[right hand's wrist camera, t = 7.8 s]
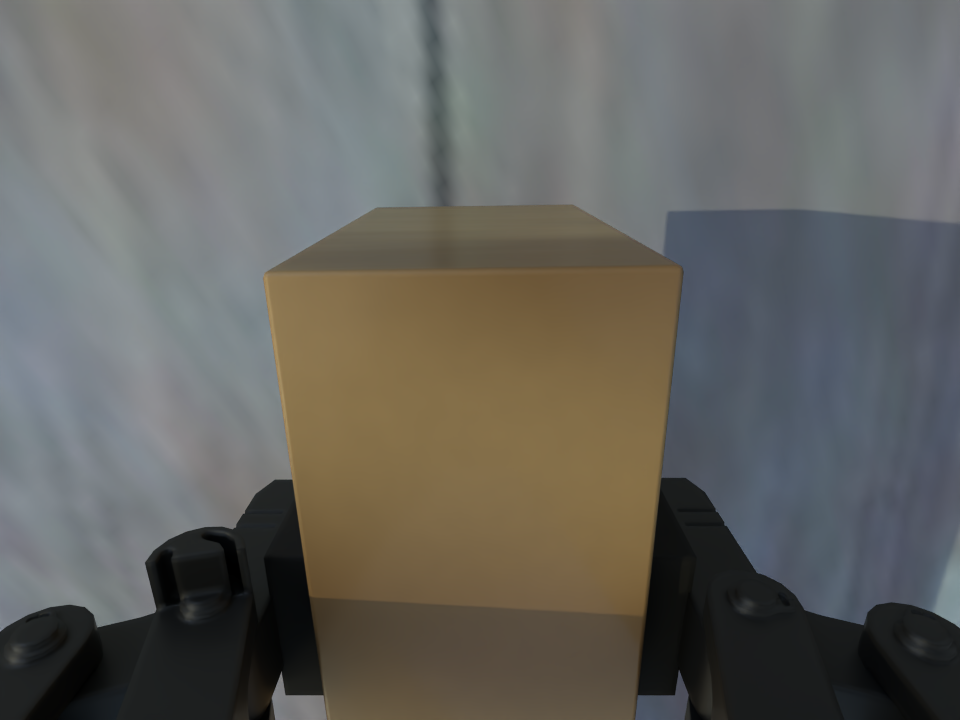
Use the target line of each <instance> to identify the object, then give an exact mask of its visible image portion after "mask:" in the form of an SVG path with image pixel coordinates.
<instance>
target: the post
mask: <svg viewBox="0 0 960 720" xmlns="http://www.w3.org/2000/svg"><path fill="white" fill-rule="evenodd" d="M263 280H264V287H265V293H266V300H267V307H268V314H269V321H270V328H271V335H272V342H273V349H274V356H275V362H276V369H277V376H278V383H279V390H280V397H281V404H282V411H283V418H284V425H285V432H286V438H287V445H288V452H289V459H290V466H291V473H292V480H293V487H294V494H295V501H296V508H297V514H298V521H299V528H300V535H301V542H302V549H303V556H304V563H305V570H306V577H307V583H308V590H309V597H310V604H311V611H312V618H313V625H314V632H315V639H316V646H317V653H318V659H319V666H320V673H321V680H322V687H323V694H324V701H325V708H326V715H327V720H635V716H636V706H637V697H638V688H639V679H640V669H641V660H642V651H643V642H644V632H645V623H646V614H647V605H648V596H649V586H650V577H651V568H652V559H653V549H654V540H655V531H656V522H657V512H658V503H659V494H660V485H661V475H662V466H663V457H664V448H665V438H666V429H667V420H668V411H669V401H670V392H671V383H672V374H673V365H674V355H675V346H676V337H677V328H678V318H679V309H680V300H681V291H682V281H683V269H682V266H680V265H678V264H676V263H675V262H673V261H671V260H669V259H668V258H666V257H664V256H662V255H661V254H659V253H657V252H655V251H654V250H652V249H650V248H648V247H646V246H645V245H643V244H641V243H639V242H638V241H636V240H634V239H632V238H631V237H629V236H627V235H625V234H624V233H622V232H620V231H618V230H617V229H615V228H613V227H611V226H610V225H608V224H606V223H604V222H602V221H601V220H599V219H597V218H595V217H594V216H592V215H590V214H588V213H587V212H585V211H583V210H581V209H580V208H578V207H576V206H574V205H520V206H453V207H386V208H375V209H373V210H372V211H370V212H368V213H367V214H365V215H363V216H361V217H360V218H358V219H356V220H355V221H353V222H351V223H349V224H348V225H346V226H344V227H343V228H341V229H339V230H337V231H336V232H334V233H332V234H331V235H329V236H327V237H325V238H324V239H322V240H320V241H319V242H317V243H315V244H313V245H312V246H310V247H308V248H307V249H305V250H303V251H301V252H300V253H298V254H296V255H295V256H293V257H291V258H289V259H288V260H286V261H284V262H283V263H281V264H279V265H277V266H276V267H274V268H272V269H271V270H269V271H267V272H265V274H264V278H263Z"/></svg>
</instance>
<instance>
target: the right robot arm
mask: <svg viewBox="0 0 960 720" xmlns="http://www.w3.org/2000/svg"><path fill="white" fill-rule="evenodd" d="M145 565H146V569H147V573H148V577H149V581H150V585H151V589H152V593H153V597H154V601H155V605H156V612H155V613H153V614H150V615H147V616H144V617H140V618H136V619H132V620H128V621H123V622H119V623H115V624H111V625H106V626H102V627H98V628H97V625H96V622H95V618H94V615H93V614H92V613H91V612H90V611H88V610H87V609H86V608H85V607H80V606H74V605H64V606H57V607H50V608H47V609H44V610H41V611H38V612H35V613H32V614H29V615H27V616H25V617H23V618H22V619H20V620H18V621H16V622H14V623H12V624H11V625H9V626H7V627H6V628H4V629H3V630H2V631H1V632H0V720H275V716H274V709H273V703H272V695H273V693H274V690H275V687H276V685H277V682H278V679H279V677H280V674H281V671H282V676H283V682H284V688H285V694H286V695H324V694H323V687H322V680H321V673H320V666H319V659H318V653H317V646H316V639H315V632H314V625H313V618H312V611H311V604H310V597H309V590H308V583H307V577H306V570H305V563H304V556H303V549H302V542H301V535H300V528H299V521H298V514H297V508H296V501H295V494H294V487H293V480H274V481H273V482H271V483H270V484H269V485H267V486H266V487H265V488H263V489H262V490H261V491H259V492H258V493H257V494H256V495H255V496H254V498H253V499H252V501H251V502H250V504H249V506H248V507H247V509H246V510H245V514H243V515H242V516H241V518H240V520H239V521H238V523H237V524H236V528H234V529H229V528H225V527H204V528H200V529H196V530H192V531H187V532H185V533H183V534H180V535H178V536H176V537H174V538H171V539H169V540H168V541H166V542H165V543H164V544H162V545H161V546H160V547H158V548H157V549H155V550H154V551H153V553H152V554H151V555H150V557H149V558H148V559H147V561H146V562H145ZM679 670H680V673H681V676H682V678H683V681H684V683H685V686H686V689H687V691H688V694H689V697H688V703H687V708H686V714H685V720H960V628H959V627H957V626H956V625H955V624H953V623H951V622H950V621H948V620H946V619H944V618H942V617H940V616H938V615H937V614H935V613H933V612H930V611H927V610H924V609H921V608H918V607H915V606H912V605H907V604H899V603H892V602H891V603H885V604H879V605H876V606H875V607H874V608H872V609H871V610H870V611H869V612H868V614H867V617H866V620H865V623H864V625H860V624H856V623H851V622H847V621H843V620H838V619H834V618H830V617H825V616H821V615H818V614H815V613H811V612H808V611H805V610H804V609H803V607H802V605H801V604H800V602H799V601H798V599H797V598H796V596H795V595H794V594H793V593H792V592H790V591H789V590H788V589H787V588H786V587H784V586H783V585H782V584H781V583H779V582H777V581H775V580H773V579H771V578H769V577H767V576H765V575H762V574H758V573H757V572H756V571H755V569H754V568H753V566H752V565H751V563H750V562H749V560H748V558H747V557H746V555H745V554H744V552H743V551H742V549H741V548H740V546H739V544H738V543H737V541H736V540H735V538H734V537H733V535H732V534H731V532H730V531H729V529H728V527H727V526H725V525H724V521H723V520H722V518H721V517H720V515H719V514H718V512H716V511H715V507H714V506H713V504H712V503H711V501H710V500H709V498H708V496H707V495H706V493H705V492H704V491H702V490H701V489H700V488H698V487H697V486H696V485H694V484H693V483H692V482H690V481H689V480H687V479H686V478H661V485H660V494H659V503H658V512H657V522H656V531H655V540H654V549H653V559H652V568H651V577H650V586H649V596H648V605H647V614H646V623H645V632H644V642H643V651H642V660H641V669H640V679H639V688H638V695H675V691H676V684H677V678H678V672H679Z"/></svg>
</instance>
